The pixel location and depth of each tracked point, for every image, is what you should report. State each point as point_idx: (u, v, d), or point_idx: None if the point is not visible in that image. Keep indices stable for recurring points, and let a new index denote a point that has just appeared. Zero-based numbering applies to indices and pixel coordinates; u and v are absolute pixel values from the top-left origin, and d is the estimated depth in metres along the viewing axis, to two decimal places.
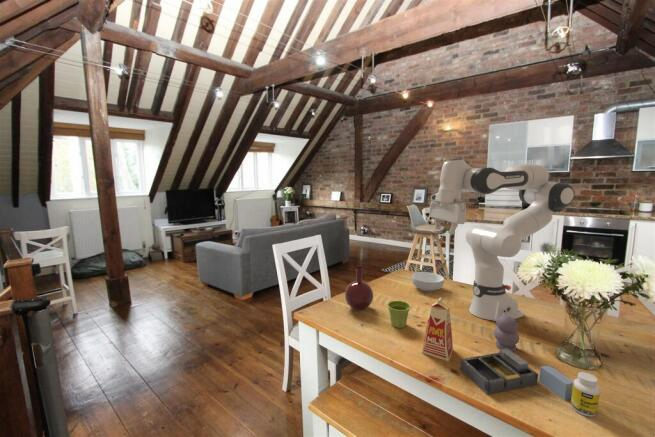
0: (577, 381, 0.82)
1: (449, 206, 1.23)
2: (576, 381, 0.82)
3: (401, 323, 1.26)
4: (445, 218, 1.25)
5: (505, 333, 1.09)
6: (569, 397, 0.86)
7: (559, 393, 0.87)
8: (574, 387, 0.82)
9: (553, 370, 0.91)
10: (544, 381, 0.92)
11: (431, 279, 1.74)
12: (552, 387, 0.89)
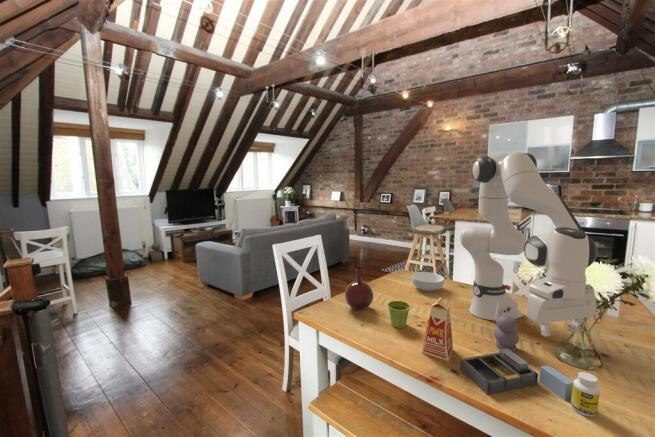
0: (577, 381, 0.82)
1: (580, 298, 0.85)
2: (576, 381, 0.82)
3: (401, 323, 1.26)
4: (573, 316, 0.85)
5: (505, 333, 1.09)
6: (569, 397, 0.86)
7: (559, 393, 0.87)
8: (574, 387, 0.82)
9: (553, 370, 0.91)
10: (544, 381, 0.92)
11: (431, 279, 1.74)
12: (552, 387, 0.89)
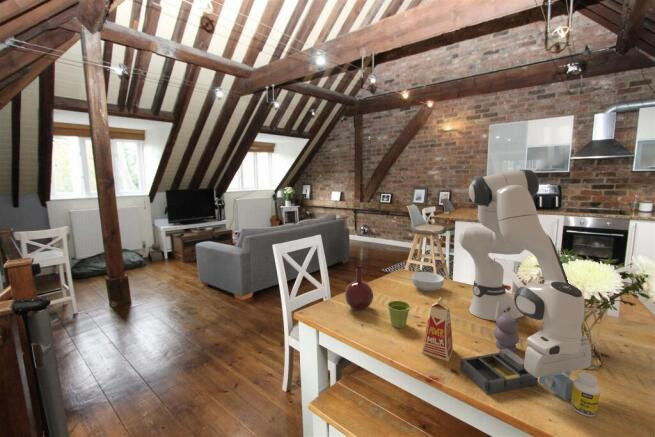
0: (577, 381, 0.82)
1: None
2: (576, 381, 0.82)
3: (401, 323, 1.26)
4: (570, 369, 0.88)
5: (505, 333, 1.09)
6: (569, 397, 0.86)
7: (559, 393, 0.87)
8: (574, 387, 0.82)
9: None
10: (544, 381, 0.92)
11: (431, 279, 1.74)
12: None
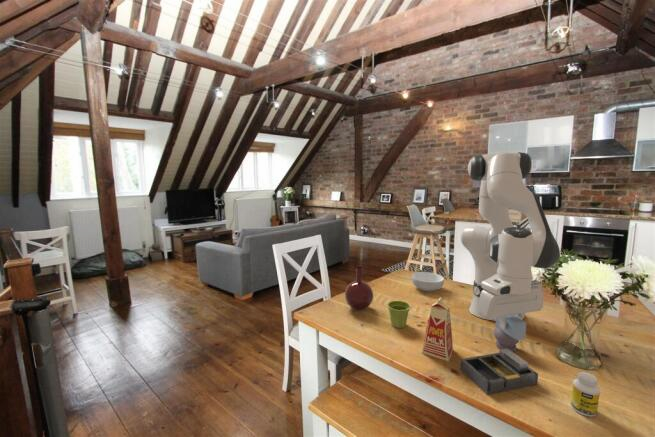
0: (577, 381, 0.82)
1: (527, 294, 0.90)
2: (576, 381, 0.82)
3: (401, 323, 1.26)
4: (522, 310, 0.91)
5: (505, 333, 1.09)
6: (521, 337, 0.89)
7: (512, 334, 0.90)
8: (574, 387, 0.82)
9: None
10: (499, 325, 0.95)
11: (431, 279, 1.74)
12: (506, 329, 0.92)
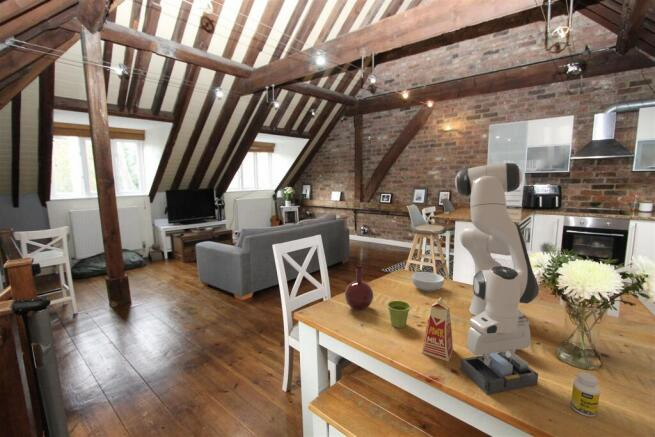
0: (577, 381, 0.82)
1: (514, 331, 0.93)
2: (576, 381, 0.82)
3: (401, 323, 1.26)
4: (509, 348, 0.93)
5: None
6: None
7: None
8: (574, 387, 0.82)
9: (496, 355, 0.97)
10: None
11: (431, 279, 1.74)
12: None
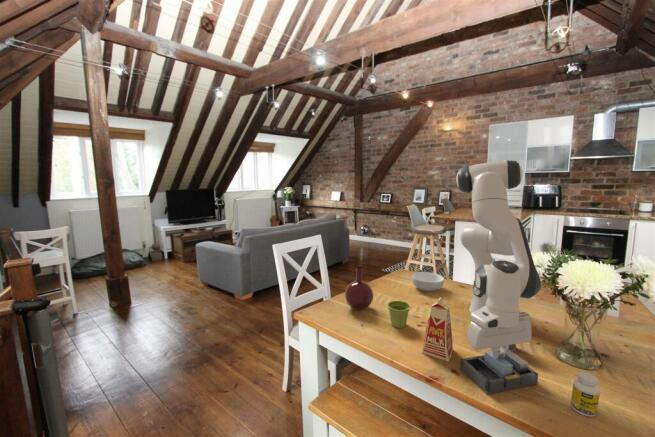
0: (577, 381, 0.82)
1: (515, 326, 0.93)
2: (576, 381, 0.82)
3: (401, 323, 1.26)
4: (510, 342, 0.93)
5: None
6: None
7: None
8: (574, 387, 0.82)
9: None
10: None
11: (431, 279, 1.74)
12: None
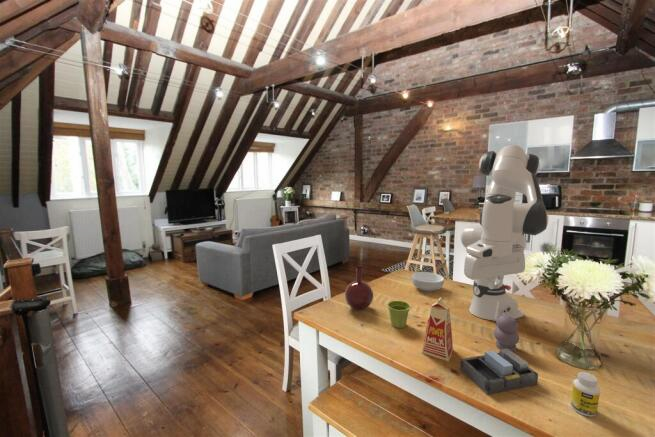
0: (577, 381, 0.82)
1: (509, 256, 0.97)
2: (576, 381, 0.82)
3: (401, 323, 1.26)
4: (504, 272, 0.97)
5: (505, 333, 1.09)
6: None
7: None
8: (574, 387, 0.82)
9: (496, 355, 0.97)
10: None
11: (431, 279, 1.74)
12: None
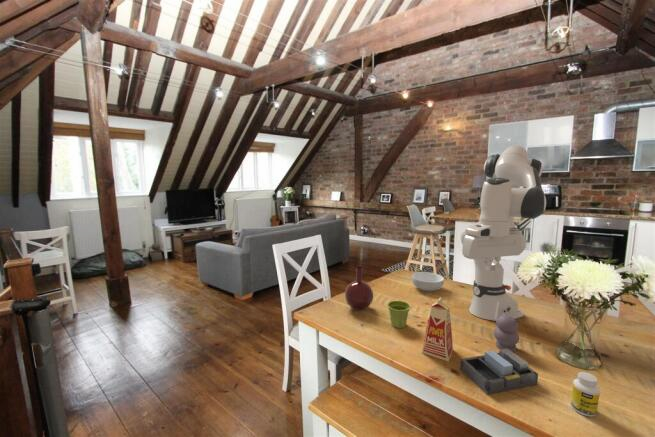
0: (577, 381, 0.82)
1: (507, 238, 0.99)
2: (576, 381, 0.82)
3: (401, 323, 1.26)
4: (502, 254, 1.00)
5: (505, 333, 1.09)
6: None
7: None
8: (574, 387, 0.82)
9: (496, 355, 0.97)
10: None
11: (431, 279, 1.74)
12: None
